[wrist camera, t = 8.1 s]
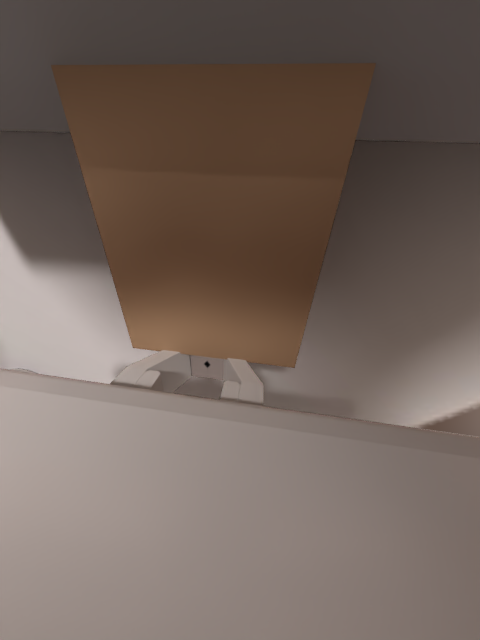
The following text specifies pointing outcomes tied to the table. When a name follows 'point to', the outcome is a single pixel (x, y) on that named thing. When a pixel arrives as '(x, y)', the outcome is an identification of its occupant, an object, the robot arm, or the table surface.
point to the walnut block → (215, 194)
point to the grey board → (257, 52)
